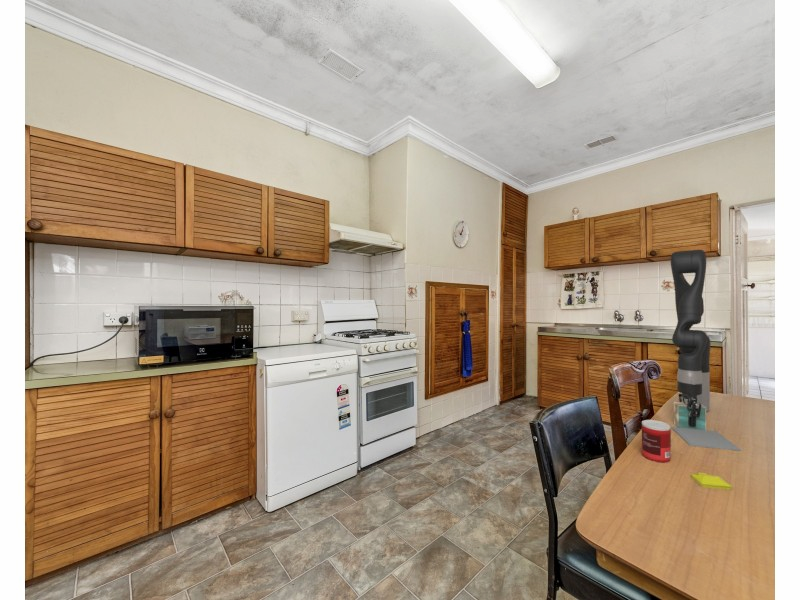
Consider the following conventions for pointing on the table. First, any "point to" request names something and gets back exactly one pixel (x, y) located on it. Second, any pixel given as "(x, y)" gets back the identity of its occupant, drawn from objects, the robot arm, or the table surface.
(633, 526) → the table surface
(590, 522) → the table surface
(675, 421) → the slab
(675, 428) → the mat
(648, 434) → the canned food
